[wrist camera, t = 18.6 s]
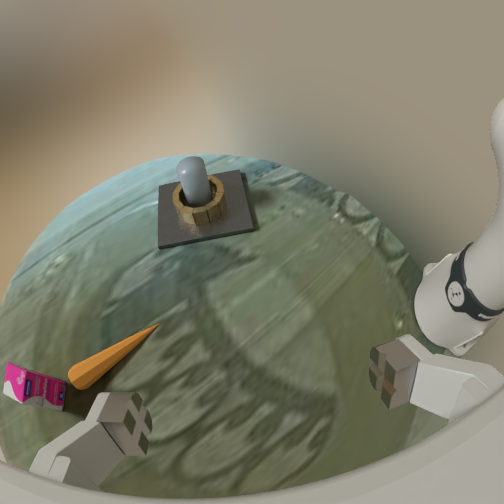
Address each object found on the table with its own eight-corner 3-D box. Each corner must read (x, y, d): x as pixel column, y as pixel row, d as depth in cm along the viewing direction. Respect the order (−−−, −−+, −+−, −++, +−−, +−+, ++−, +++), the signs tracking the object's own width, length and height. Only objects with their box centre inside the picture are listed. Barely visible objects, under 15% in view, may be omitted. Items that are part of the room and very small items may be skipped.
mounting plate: (239, 172, 60) (239, 169, 60) (253, 231, 52) (253, 227, 52) (160, 189, 60) (159, 185, 59) (159, 249, 51) (157, 246, 51)
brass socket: (222, 182, 58) (220, 170, 55) (228, 218, 53) (226, 206, 50) (176, 191, 57) (172, 180, 54) (178, 228, 52) (173, 217, 49)
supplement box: (64, 411, 35) (22, 405, 25) (43, 402, 36) (1, 393, 26) (67, 382, 38) (25, 370, 28) (46, 374, 39) (5, 360, 29)
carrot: (83, 390, 38) (76, 396, 34) (69, 369, 39) (60, 372, 35) (168, 333, 46) (168, 334, 42) (153, 312, 46) (152, 310, 42)
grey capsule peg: (211, 191, 57) (202, 153, 48) (214, 209, 54) (205, 171, 46) (188, 196, 56) (175, 160, 48) (189, 214, 54) (176, 178, 45)
